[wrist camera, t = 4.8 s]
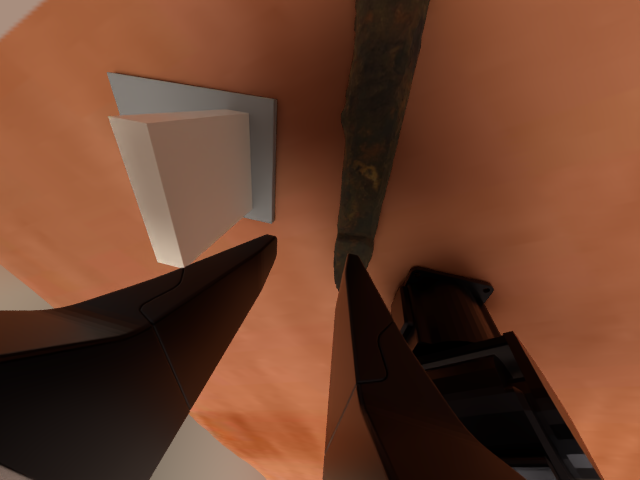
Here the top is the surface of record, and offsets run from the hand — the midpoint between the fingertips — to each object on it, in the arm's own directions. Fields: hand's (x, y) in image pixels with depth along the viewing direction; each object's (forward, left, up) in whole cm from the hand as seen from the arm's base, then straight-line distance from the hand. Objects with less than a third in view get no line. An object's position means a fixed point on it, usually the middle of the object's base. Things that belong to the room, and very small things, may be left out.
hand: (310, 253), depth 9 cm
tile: (+8, 0, -9) cm, 12 cm away
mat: (+11, 0, -9) cm, 14 cm away
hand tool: (-2, -1, -10) cm, 10 cm away
